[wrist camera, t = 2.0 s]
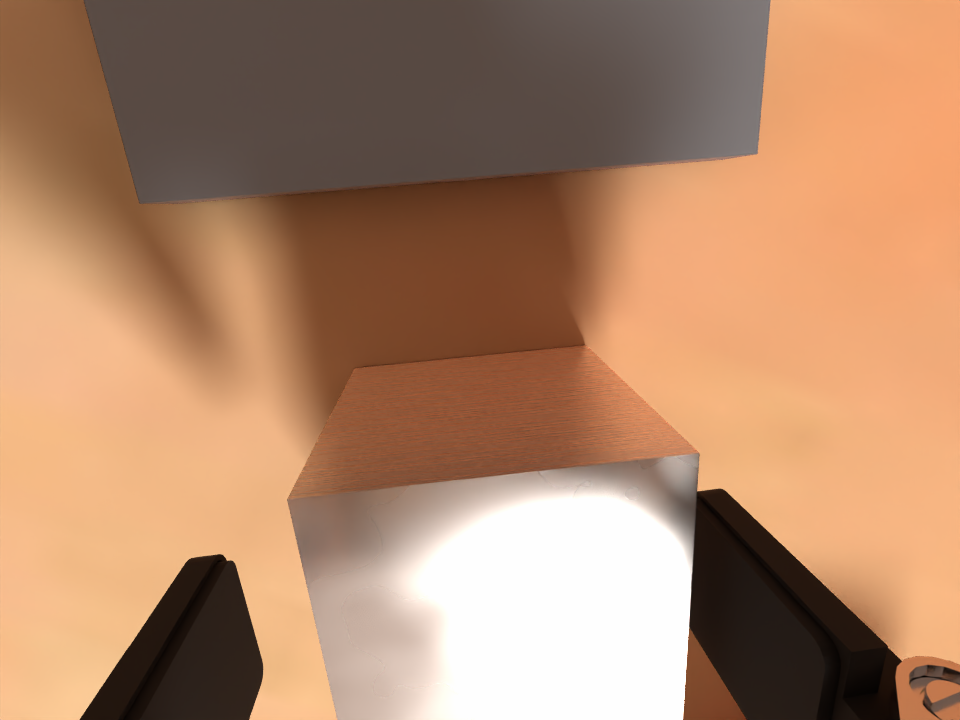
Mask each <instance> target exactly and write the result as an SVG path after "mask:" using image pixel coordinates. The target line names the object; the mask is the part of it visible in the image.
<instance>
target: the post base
mask: <svg viewBox="0 0 960 720" xmlns="http://www.w3.org/2000/svg"><path fill="white" fill-rule="evenodd" d="M84 3H85V7H86V11H87V14H88V18H89V22H90V25H91V29H92V32H93V36H94V40H95V43H96V47H97V51H98V54H99V58H100V62H101V65H102V69H103V72H104V76H105V80H106V83H107V87H108V91H109V94H110V98H111V101H112V105H113V109H114V112H115V116H116V120H117V123H118V127H119V131H120V134H121V138H122V141H123V145H124V149H125V152H126V156H127V160H128V163H129V167H130V171H131V174H132V178H133V181H134V185H135V189H136V192H137V196H138V200H139V203H140V204H178V203H191V202H203V201H216V200H228V199H240V198H253V197H265V196H277V195H290V194H302V193H315V192H327V191H339V190H352V189H364V188H377V187H389V186H401V185H414V184H426V183H439V182H451V181H463V180H476V179H488V178H501V177H513V176H525V175H538V174H550V173H563V172H575V171H587V170H600V169H612V168H624V167H637V166H649V165H662V164H674V163H686V162H699V161H711V160H723V159H729V158H736V157H742V156H748V155H754V154H757V152H758V141H759V129H760V117H761V105H762V93H763V82H764V70H765V58H766V46H767V35H768V23H769V11H770V0H84Z"/></svg>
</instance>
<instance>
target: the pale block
mask: <svg viewBox="0 0 960 720" xmlns="http://www.w3.org/2000/svg"><path fill="white" fill-rule="evenodd" d="M698 468H699V452H698V451H697V450H696V449H695V448H694V447H693V446H691V445H690V444H689V443H688V442H687V441H686V440H685V439H684V438H683V437H682V436H681V435H680V434H679V433H678V432H677V431H676V430H675V429H674V428H673V427H671V426H670V425H669V424H668V423H667V422H666V421H665V420H664V419H663V418H662V417H661V416H660V415H659V414H658V413H657V412H656V411H655V410H654V409H653V408H652V407H650V406H649V405H648V404H647V403H646V402H645V401H644V400H643V399H642V398H641V397H640V396H639V395H638V394H637V393H636V392H635V391H634V390H633V389H632V388H631V387H629V386H628V385H627V384H626V383H625V382H624V381H623V380H622V379H621V378H620V377H619V376H618V375H617V374H616V373H615V372H614V371H613V370H612V369H611V368H609V367H608V366H607V365H606V364H605V363H604V362H603V361H602V360H601V359H600V358H599V357H598V356H597V355H596V354H595V353H594V352H593V351H592V350H591V349H590V348H588V347H587V346H586V345H583V346H573V347H563V348H553V349H543V350H533V351H523V352H513V353H502V354H492V355H482V356H472V357H462V358H452V359H442V360H432V361H422V362H412V363H402V364H392V365H382V366H372V367H362V368H354V370H353V372H352V374H351V376H350V378H349V380H348V382H347V384H346V386H345V388H344V390H343V392H342V394H341V396H340V398H339V400H338V402H337V403H336V405H335V407H334V409H333V411H332V413H331V415H330V417H329V419H328V421H327V423H326V425H325V427H324V429H323V431H322V433H321V435H320V437H319V438H318V440H317V442H316V444H315V446H314V448H313V450H312V452H311V454H310V456H309V458H308V460H307V462H306V464H305V466H304V468H303V470H302V472H301V473H300V475H299V477H298V479H297V481H296V483H295V485H294V487H293V489H292V491H291V493H290V495H289V497H288V499H287V501H288V505H289V509H290V514H291V518H292V523H293V527H294V531H295V536H296V540H297V544H298V549H299V553H300V558H301V562H302V566H303V571H304V575H305V580H306V584H307V588H308V593H309V597H310V601H311V606H312V610H313V615H314V619H315V623H316V628H317V632H318V636H319V641H320V645H321V650H322V654H323V658H324V663H325V667H326V672H327V676H328V680H329V685H330V689H331V693H332V698H333V702H334V707H335V711H336V715H337V720H683V708H684V692H685V676H686V660H687V644H688V628H689V612H690V596H691V580H692V564H693V548H694V532H695V516H696V500H697V484H698Z"/></svg>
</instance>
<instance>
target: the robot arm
mask: <svg viewBox="0 0 960 720" xmlns="http://www.w3.org/2000/svg"><path fill="white" fill-rule="evenodd" d="M689 627H690V629H691V631H692V632H693V634H694V635H695V637H696V639H697V640H698V642H699V644H700V645H701V647H702V648H703V650H704V652H705V653H706V655H707V656H708V658H709V660H710V661H711V663H712V664H713V666H714V668H715V669H716V671H717V672H718V674H719V676H720V677H721V679H722V680H723V682H724V684H725V685H726V687H727V688H728V690H729V692H730V693H731V695H732V696H733V698H734V700H735V701H736V703H737V704H738V706H739V708H740V709H741V711H742V713H743V714H744V716H745V717H746V719H747V720H960V665H959V664H956V663H954V662H951V661H947V660H943V659H939V658H935V657H924V656H915V657H912V658H908V659H904V660H903V661H901V660H900V659H899V658H898V657H897V656H896V655H895V654H894V653H893V652H892V651H891V650H890V649H889V648H888V646H887V645H886V644H885V643H884V642H883V641H882V640H881V639H880V638H879V637H878V636H877V635H876V634H875V633H874V632H873V631H872V630H871V629H869V628H868V627H867V626H866V625H865V624H864V623H863V622H862V621H861V620H860V619H859V618H858V617H857V616H856V615H855V614H854V613H853V612H852V611H851V610H850V609H849V608H847V607H846V606H845V605H844V604H843V603H842V602H841V601H840V600H839V599H838V598H837V597H836V596H835V595H834V594H833V593H832V592H831V591H830V590H829V589H828V588H827V587H826V586H824V585H823V584H822V583H821V582H820V581H819V580H818V579H817V578H816V577H815V576H814V575H813V574H812V573H811V572H810V571H809V570H808V569H807V568H806V567H805V566H804V565H802V564H801V563H800V562H799V561H798V560H797V559H796V558H795V557H794V556H793V555H792V554H791V553H790V552H789V551H788V550H787V549H786V548H785V547H784V546H783V545H782V544H781V543H779V542H778V541H777V540H776V539H775V538H774V537H773V536H772V535H771V534H770V533H769V532H768V531H767V530H766V529H765V528H764V527H763V526H762V525H761V524H760V523H759V522H757V521H756V520H755V519H754V518H753V517H752V516H751V515H750V514H749V513H748V512H747V511H746V510H745V509H744V508H743V507H742V506H741V505H740V504H739V503H738V502H737V501H736V500H734V499H733V498H732V497H731V496H730V495H729V494H728V493H727V492H726V491H725V490H723V489H713V490H706V491H698V492H697V500H696V516H695V532H694V548H693V564H692V580H691V596H690V612H689ZM262 678H263V662H262V658H261V654H260V651H259V647H258V644H257V640H256V637H255V633H254V629H253V626H252V622H251V619H250V615H249V611H248V608H247V604H246V601H245V597H244V594H243V590H242V586H241V583H240V579H239V576H238V572H237V568H236V565H235V563H234V562H233V561H227V560H226V558H225V557H224V556H223V555H221V554H218V555H211V556H203V557H196V558H191V559H189V560H188V561H187V562H186V563H185V565H184V566H183V568H182V569H181V571H180V572H179V574H178V575H177V577H176V578H175V580H174V581H173V583H172V584H171V585H170V587H169V588H168V590H167V591H166V593H165V594H164V596H163V597H162V599H161V600H160V602H159V603H158V605H157V606H156V608H155V609H154V611H153V612H152V614H151V615H150V617H149V618H148V620H147V621H146V623H145V624H144V626H143V627H142V629H141V630H140V632H139V633H138V635H137V636H136V638H135V639H134V641H133V642H132V644H131V645H130V646H129V648H128V649H127V650H126V652H125V653H124V655H123V656H122V658H121V659H120V660H119V662H118V663H117V665H116V666H115V668H114V669H113V671H112V672H111V674H110V675H109V677H108V678H107V680H106V681H105V683H104V684H103V686H102V687H101V689H100V690H99V692H98V693H97V695H96V696H95V698H94V699H93V701H92V702H91V704H90V705H89V707H88V708H87V710H86V711H85V712H84V714H83V715H82V717H81V718H80V720H249V718H250V715H251V712H252V709H253V706H254V703H255V700H256V698H257V695H258V692H259V689H260V686H261V682H262Z"/></svg>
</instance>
